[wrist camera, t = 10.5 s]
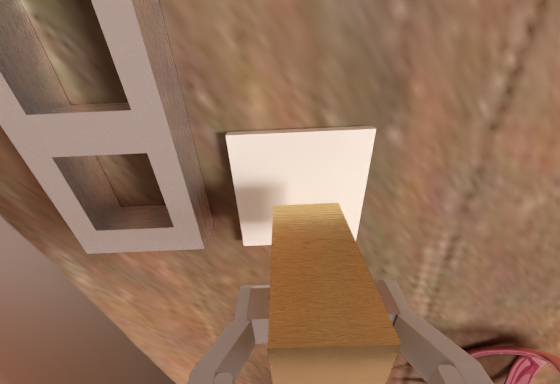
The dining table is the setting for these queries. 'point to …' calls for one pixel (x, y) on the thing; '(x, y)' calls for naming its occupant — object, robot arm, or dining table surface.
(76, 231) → the rail
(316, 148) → the pad
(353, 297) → the block
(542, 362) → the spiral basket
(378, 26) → the dining table surface
